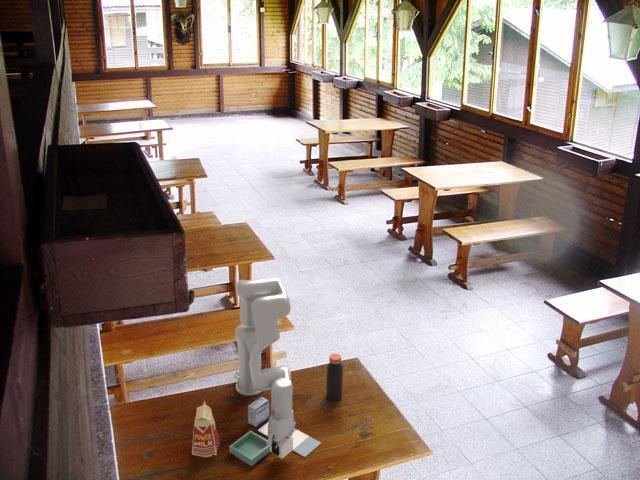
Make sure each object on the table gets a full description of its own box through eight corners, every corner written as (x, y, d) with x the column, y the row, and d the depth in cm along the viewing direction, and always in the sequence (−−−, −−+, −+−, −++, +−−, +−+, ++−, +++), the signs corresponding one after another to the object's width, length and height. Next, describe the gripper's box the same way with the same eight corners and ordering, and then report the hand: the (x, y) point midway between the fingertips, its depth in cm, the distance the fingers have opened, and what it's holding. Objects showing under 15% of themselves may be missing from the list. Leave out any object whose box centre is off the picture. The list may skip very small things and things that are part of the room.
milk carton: (196, 440, 246) (193, 397, 239) (220, 441, 246) (218, 398, 238) (191, 457, 238) (188, 413, 230) (215, 458, 238) (213, 414, 230)
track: (257, 430, 252) (257, 430, 252) (274, 418, 260) (274, 417, 259) (304, 457, 239) (304, 456, 239) (321, 443, 246) (321, 442, 246)
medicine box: (256, 427, 254) (255, 409, 251) (248, 423, 257) (247, 405, 253) (269, 417, 260) (269, 400, 257) (261, 413, 262) (261, 395, 259)
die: (269, 451, 237) (269, 438, 234) (280, 442, 241) (280, 429, 239) (282, 458, 234) (282, 445, 231) (292, 449, 238) (293, 437, 235)
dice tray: (229, 452, 241) (229, 446, 239) (250, 436, 249) (250, 430, 248) (251, 466, 234) (251, 459, 233) (272, 449, 243) (272, 443, 241)
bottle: (324, 399, 271) (325, 359, 264) (328, 390, 278) (329, 351, 270) (340, 402, 270) (341, 362, 262) (343, 392, 276) (344, 353, 268)
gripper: (289, 394, 238) (288, 432, 245) (257, 417, 225) (258, 457, 233) (305, 402, 234) (303, 440, 241) (273, 427, 221) (273, 466, 229)
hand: (281, 448), depth 237 cm, fingers closed on die, 5 cm apart
